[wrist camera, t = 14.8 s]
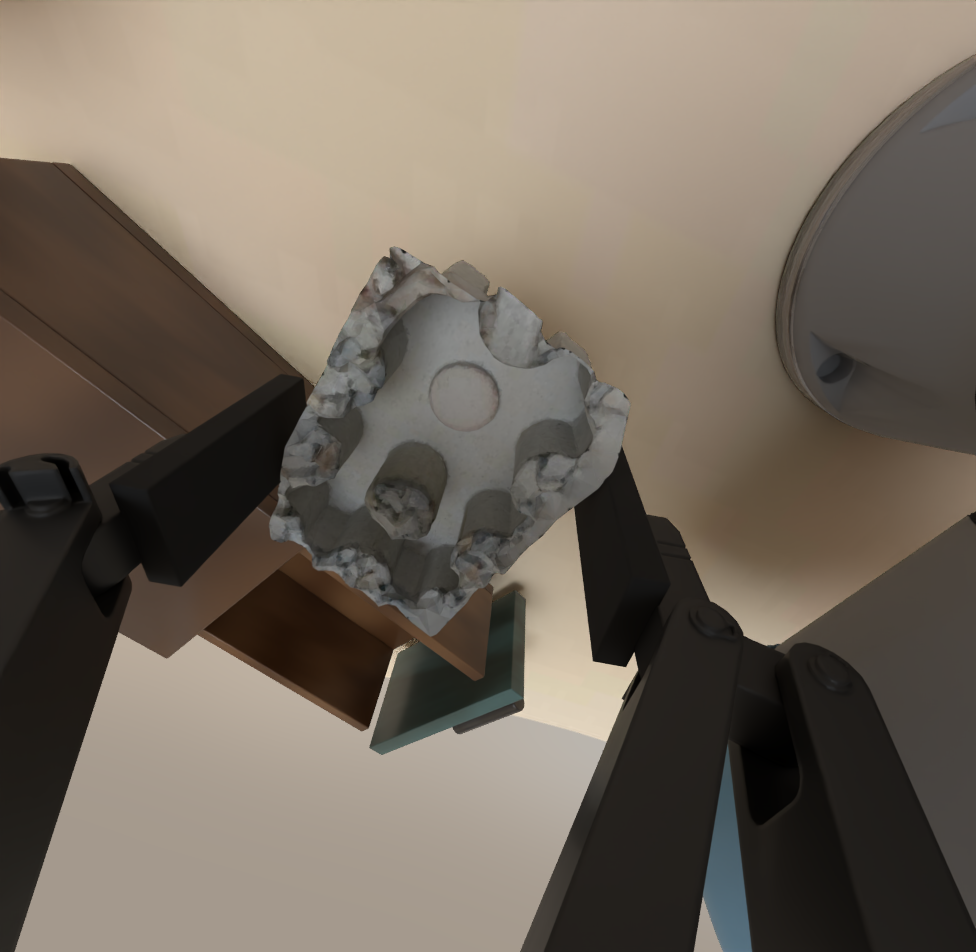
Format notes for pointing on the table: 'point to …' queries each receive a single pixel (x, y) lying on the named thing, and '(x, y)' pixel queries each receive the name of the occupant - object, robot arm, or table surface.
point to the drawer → (379, 654)
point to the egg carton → (441, 440)
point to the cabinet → (122, 370)
